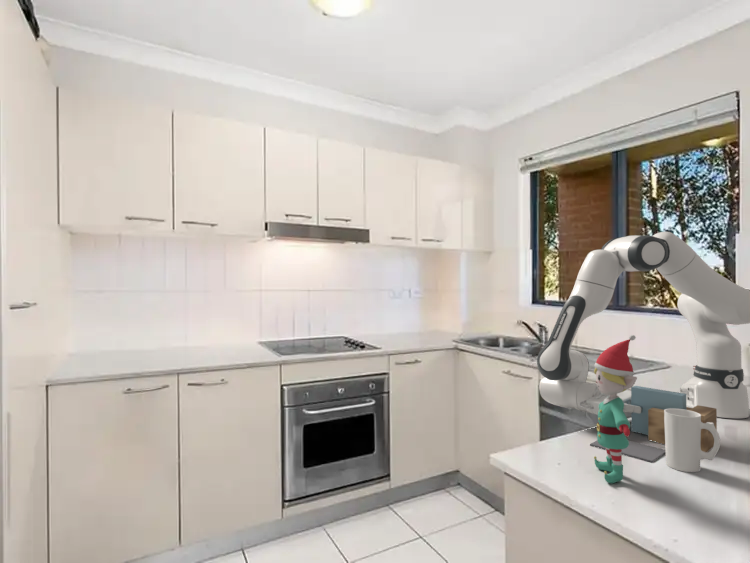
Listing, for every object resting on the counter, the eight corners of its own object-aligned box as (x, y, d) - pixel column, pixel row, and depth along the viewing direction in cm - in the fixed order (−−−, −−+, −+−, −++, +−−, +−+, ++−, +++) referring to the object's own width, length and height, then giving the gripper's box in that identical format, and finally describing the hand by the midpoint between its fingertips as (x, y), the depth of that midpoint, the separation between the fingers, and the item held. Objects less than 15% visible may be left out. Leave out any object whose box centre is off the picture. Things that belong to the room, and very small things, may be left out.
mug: (661, 466, 98) (660, 412, 99) (668, 458, 103) (667, 406, 103) (718, 480, 91) (717, 422, 91) (722, 470, 96) (722, 415, 96)
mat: (590, 445, 112) (590, 443, 112) (607, 436, 118) (607, 435, 118) (651, 462, 101) (651, 460, 101) (667, 451, 107) (667, 450, 107)
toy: (586, 459, 103) (584, 330, 103) (623, 462, 101) (621, 330, 101) (608, 494, 86) (606, 339, 86) (653, 498, 84) (651, 340, 84)
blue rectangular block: (631, 431, 121) (631, 387, 121) (636, 428, 123) (635, 385, 123) (682, 443, 112) (682, 395, 112) (686, 440, 114) (686, 393, 114)
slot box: (648, 440, 115) (648, 405, 115) (663, 432, 121) (662, 399, 121) (704, 454, 105) (703, 416, 106) (716, 444, 112) (716, 408, 112)
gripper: (576, 393, 124) (628, 403, 114) (608, 382, 137) (658, 390, 126) (576, 416, 124) (629, 428, 114) (608, 403, 137) (659, 413, 126)
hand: (645, 408), depth 120 cm, fingers closed on blue rectangular block, 3 cm apart
